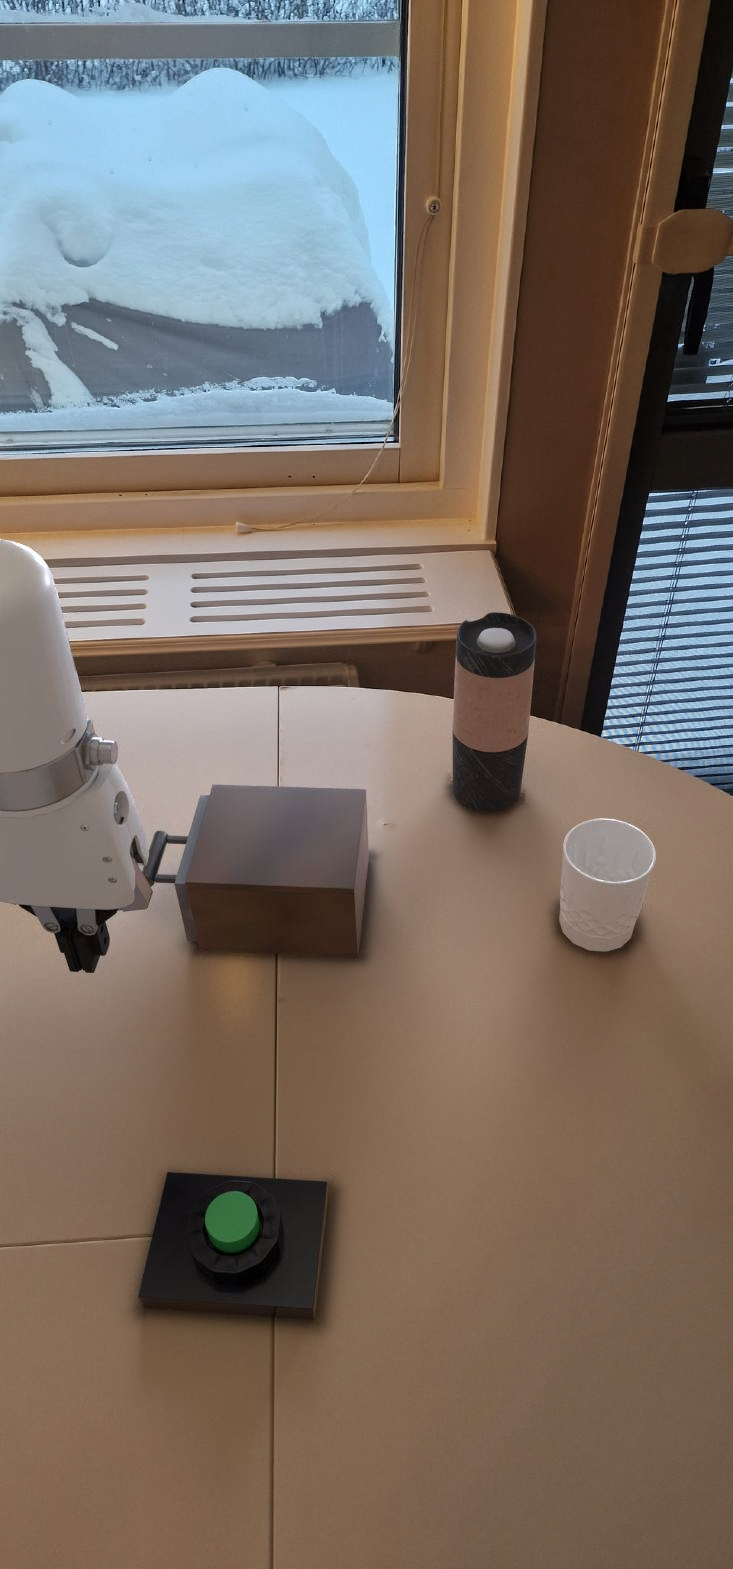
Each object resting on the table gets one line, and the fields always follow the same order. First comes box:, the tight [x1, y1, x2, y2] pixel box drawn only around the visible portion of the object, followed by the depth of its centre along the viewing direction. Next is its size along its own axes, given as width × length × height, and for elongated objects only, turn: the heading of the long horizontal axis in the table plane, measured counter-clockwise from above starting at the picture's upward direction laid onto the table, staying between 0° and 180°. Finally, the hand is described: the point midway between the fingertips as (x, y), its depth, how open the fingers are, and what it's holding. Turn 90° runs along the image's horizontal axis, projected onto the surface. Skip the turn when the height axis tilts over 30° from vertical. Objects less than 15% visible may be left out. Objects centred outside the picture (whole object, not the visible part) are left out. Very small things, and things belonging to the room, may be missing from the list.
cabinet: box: [185, 783, 370, 959], centre depth 96 cm, size 15×13×10 cm
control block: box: [138, 1171, 330, 1321], centre depth 73 cm, size 12×9×4 cm
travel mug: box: [451, 611, 537, 813], centre depth 103 cm, size 8×8×20 cm
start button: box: [205, 1191, 260, 1253], centre depth 72 cm, size 4×4×2 cm
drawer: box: [141, 794, 210, 942], centre depth 96 cm, size 18×11×8 cm, turn 85°
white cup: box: [558, 818, 657, 953], centre depth 93 cm, size 8×8×10 cm
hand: (88, 955), depth 71 cm, fingers closed
